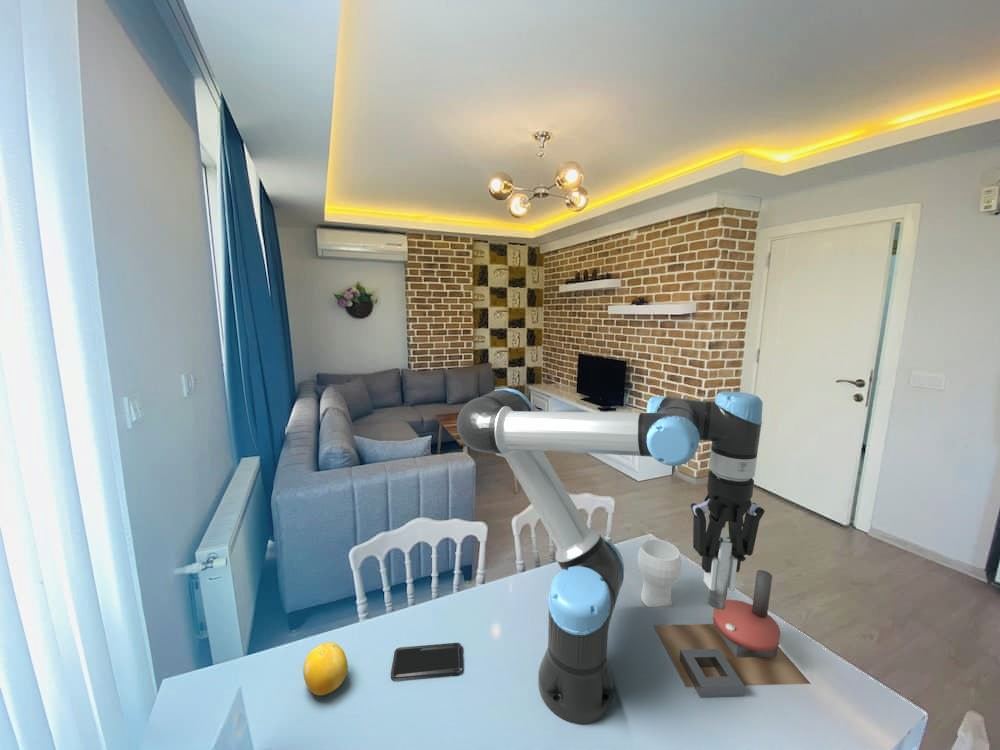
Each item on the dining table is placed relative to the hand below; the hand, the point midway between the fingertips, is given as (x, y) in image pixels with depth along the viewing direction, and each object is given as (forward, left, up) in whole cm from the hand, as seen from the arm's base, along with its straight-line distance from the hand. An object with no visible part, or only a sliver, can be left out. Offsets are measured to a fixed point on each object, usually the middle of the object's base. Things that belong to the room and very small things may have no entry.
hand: (718, 585), depth 80 cm
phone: (-59, +7, -23) cm, 64 cm away
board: (+7, +6, -23) cm, 24 cm away
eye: (0, 0, -21) cm, 21 cm away
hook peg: (0, 0, -4) cm, 4 cm away
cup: (-1, +24, -23) cm, 33 cm away
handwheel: (+13, +9, -18) cm, 24 cm away
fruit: (-79, +2, -23) cm, 82 cm away
